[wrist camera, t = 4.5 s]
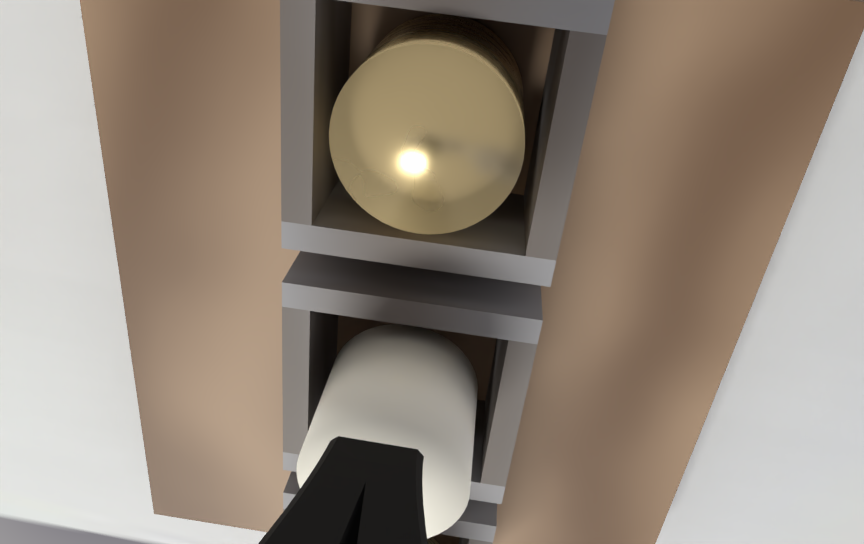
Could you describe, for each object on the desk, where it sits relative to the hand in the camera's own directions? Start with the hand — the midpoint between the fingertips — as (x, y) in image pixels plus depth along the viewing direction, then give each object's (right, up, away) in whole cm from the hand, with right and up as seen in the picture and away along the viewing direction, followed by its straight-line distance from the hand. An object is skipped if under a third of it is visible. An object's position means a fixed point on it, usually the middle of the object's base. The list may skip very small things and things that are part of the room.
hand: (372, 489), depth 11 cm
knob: (+1, +7, +4) cm, 8 cm away
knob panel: (+1, +3, +9) cm, 10 cm away
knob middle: (0, +1, +5) cm, 5 cm away
